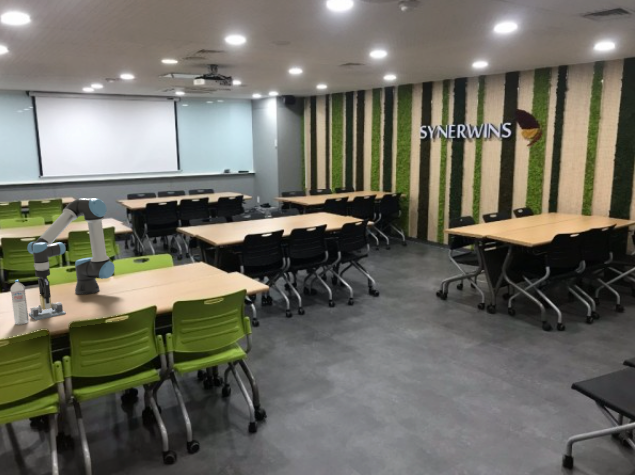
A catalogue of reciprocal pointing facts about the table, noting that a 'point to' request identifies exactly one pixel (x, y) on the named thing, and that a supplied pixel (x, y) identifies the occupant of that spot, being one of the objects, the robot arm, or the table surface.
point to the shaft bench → (47, 311)
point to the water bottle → (19, 303)
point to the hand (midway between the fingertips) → (46, 307)
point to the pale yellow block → (43, 302)
